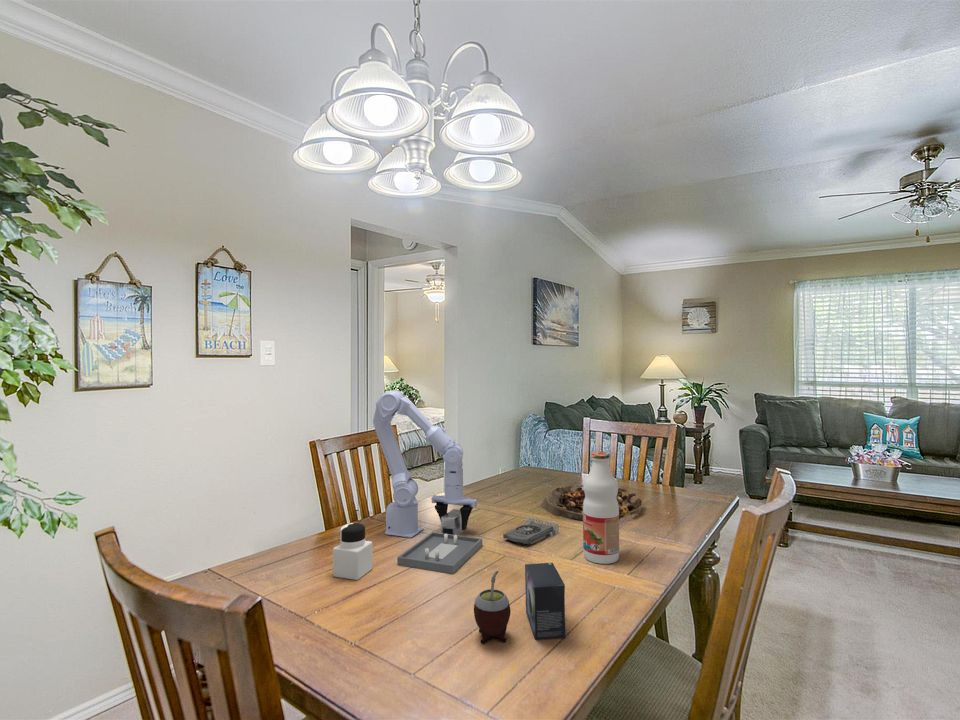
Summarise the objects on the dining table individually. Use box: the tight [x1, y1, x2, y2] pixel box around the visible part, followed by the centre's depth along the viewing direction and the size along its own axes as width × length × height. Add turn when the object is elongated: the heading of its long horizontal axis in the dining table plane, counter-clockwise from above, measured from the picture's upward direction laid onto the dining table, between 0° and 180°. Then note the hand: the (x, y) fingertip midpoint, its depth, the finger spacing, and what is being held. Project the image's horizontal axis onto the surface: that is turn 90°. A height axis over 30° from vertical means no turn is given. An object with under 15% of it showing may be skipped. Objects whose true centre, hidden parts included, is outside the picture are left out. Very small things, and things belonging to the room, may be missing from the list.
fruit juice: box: [582, 451, 620, 565], centre depth 133 cm, size 9×9×28 cm
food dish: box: [540, 484, 643, 521], centre depth 178 cm, size 35×33×8 cm
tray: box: [396, 531, 483, 575], centre depth 136 cm, size 16×20×4 cm
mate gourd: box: [473, 570, 511, 645], centre depth 96 cm, size 8×8×15 cm
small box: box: [524, 562, 567, 641], centre depth 100 cm, size 11×6×10 cm, turn 5°
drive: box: [440, 508, 467, 536], centre depth 154 cm, size 4×9×6 cm, turn 158°
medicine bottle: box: [332, 522, 374, 581], centre depth 125 cm, size 7×7×12 cm
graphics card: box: [502, 516, 559, 546], centre depth 150 cm, size 17×4×12 cm
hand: (454, 528), depth 154 cm, fingers open, 6 cm apart
